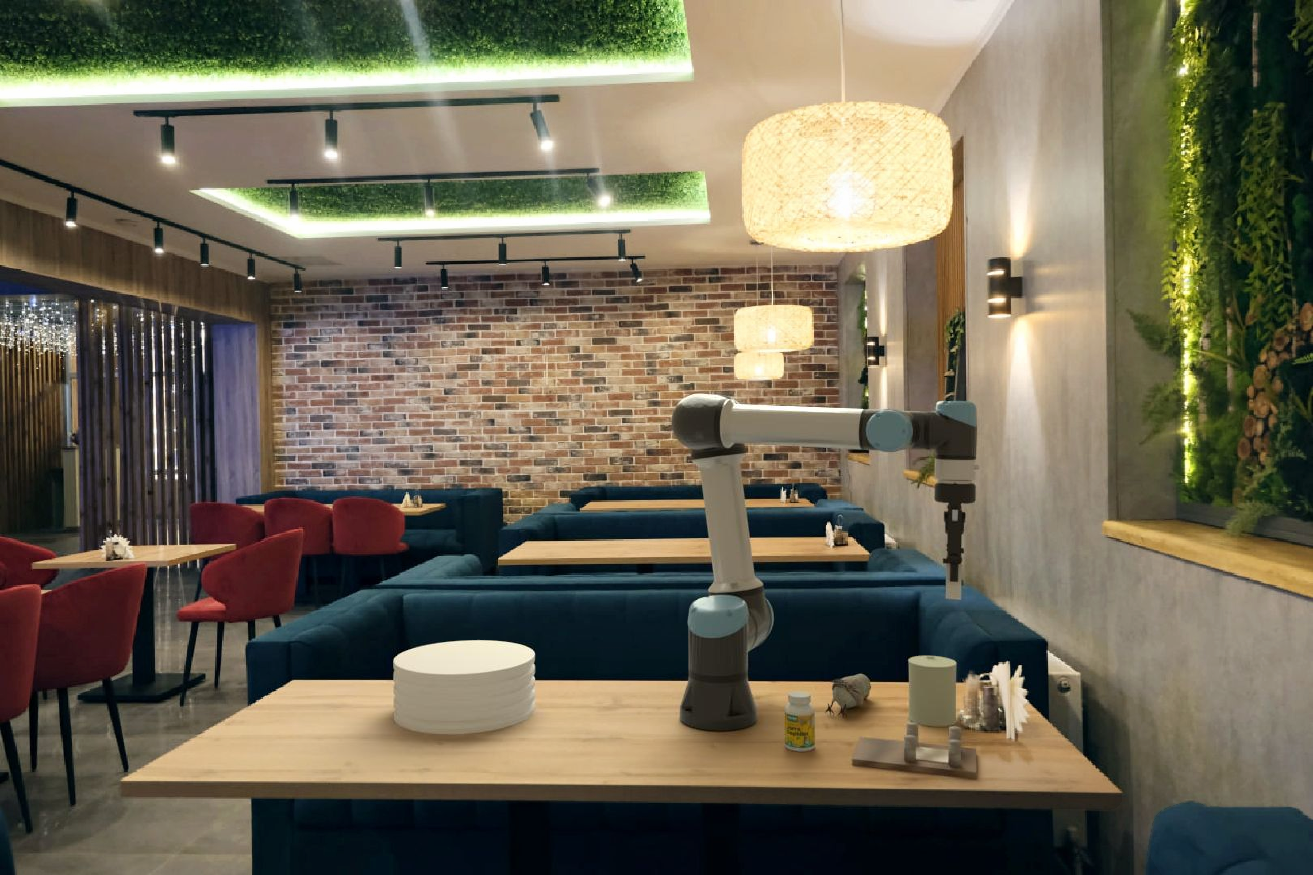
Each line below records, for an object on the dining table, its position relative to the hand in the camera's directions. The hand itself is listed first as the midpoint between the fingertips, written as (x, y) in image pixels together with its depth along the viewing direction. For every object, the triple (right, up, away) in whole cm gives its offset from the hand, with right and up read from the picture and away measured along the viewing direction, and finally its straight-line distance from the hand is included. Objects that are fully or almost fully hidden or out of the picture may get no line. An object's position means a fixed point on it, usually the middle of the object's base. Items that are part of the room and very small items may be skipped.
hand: (953, 592), depth 179 cm
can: (-3, -26, +5) cm, 26 cm away
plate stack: (-96, -26, +11) cm, 100 cm away
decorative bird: (-17, -26, +13) cm, 34 cm away
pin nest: (-12, -26, -17) cm, 33 cm away
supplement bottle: (-31, -26, -11) cm, 42 cm away
